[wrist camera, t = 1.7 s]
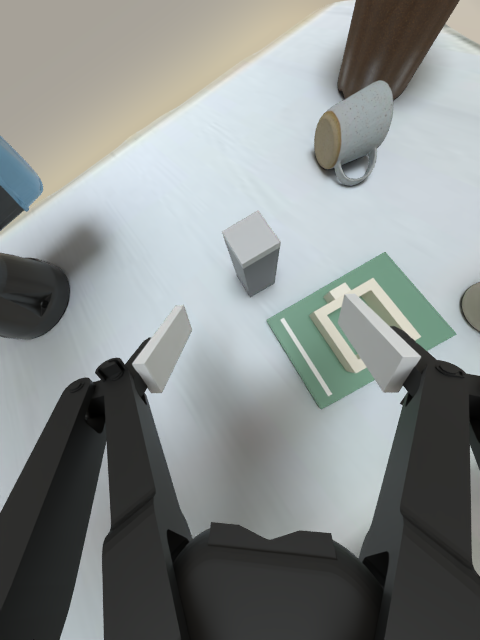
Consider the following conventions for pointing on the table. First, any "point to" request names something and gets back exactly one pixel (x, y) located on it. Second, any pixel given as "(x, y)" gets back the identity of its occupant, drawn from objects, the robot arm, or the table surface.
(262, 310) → the table surface
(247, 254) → the plug
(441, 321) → the board
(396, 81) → the plant pot
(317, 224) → the table surface
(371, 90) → the ceramic mug
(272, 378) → the table surface
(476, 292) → the travel mug
